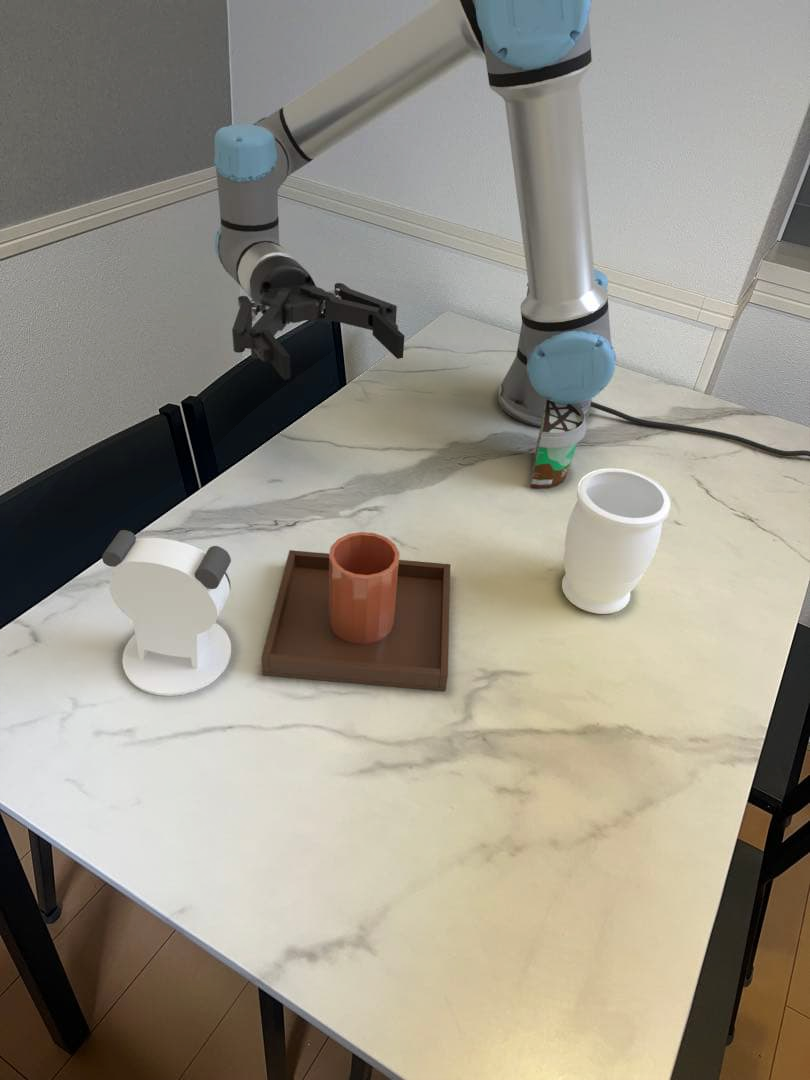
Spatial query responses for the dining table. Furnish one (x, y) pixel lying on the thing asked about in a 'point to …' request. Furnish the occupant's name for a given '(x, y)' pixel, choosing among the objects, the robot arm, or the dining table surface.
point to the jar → (612, 537)
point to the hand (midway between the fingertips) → (345, 357)
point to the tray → (318, 653)
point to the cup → (362, 587)
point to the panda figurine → (170, 611)
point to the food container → (557, 443)
